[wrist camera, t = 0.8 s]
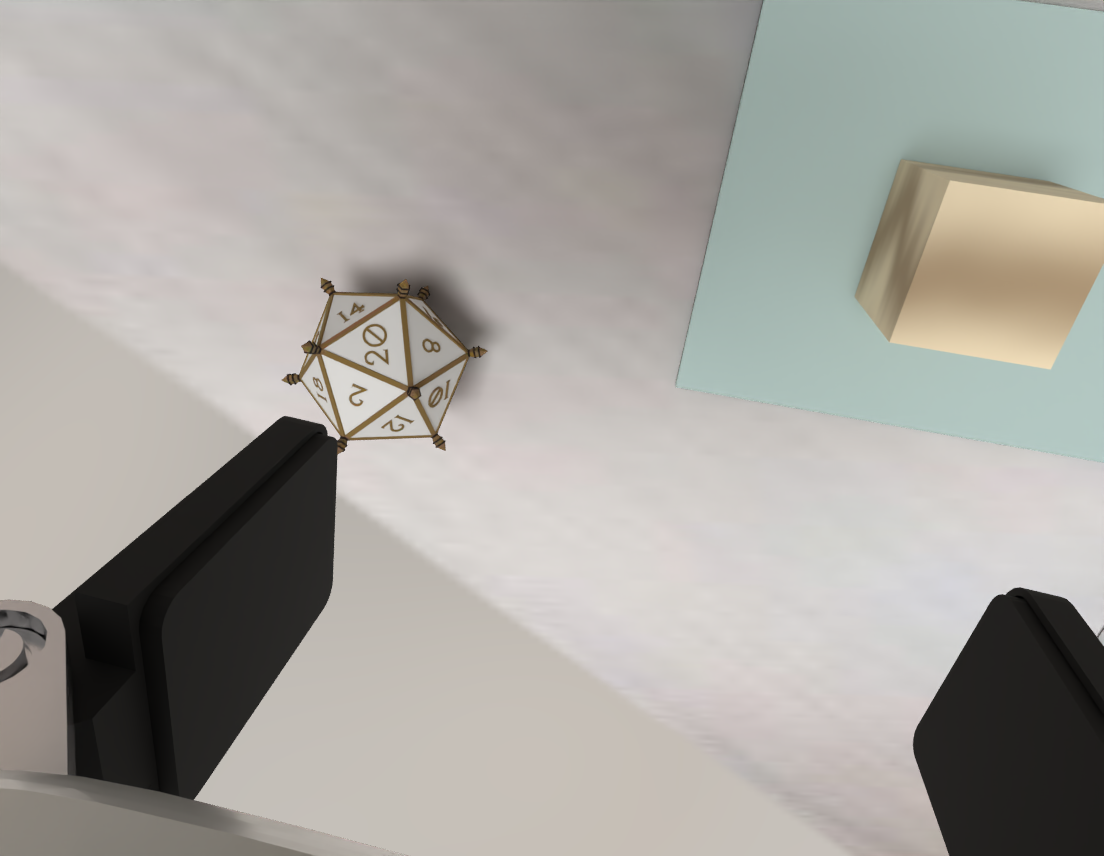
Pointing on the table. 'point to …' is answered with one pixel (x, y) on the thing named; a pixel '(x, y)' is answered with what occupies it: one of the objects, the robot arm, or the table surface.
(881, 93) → the mat
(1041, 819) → the robot arm
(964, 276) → the block
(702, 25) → the table surface
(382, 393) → the game die
